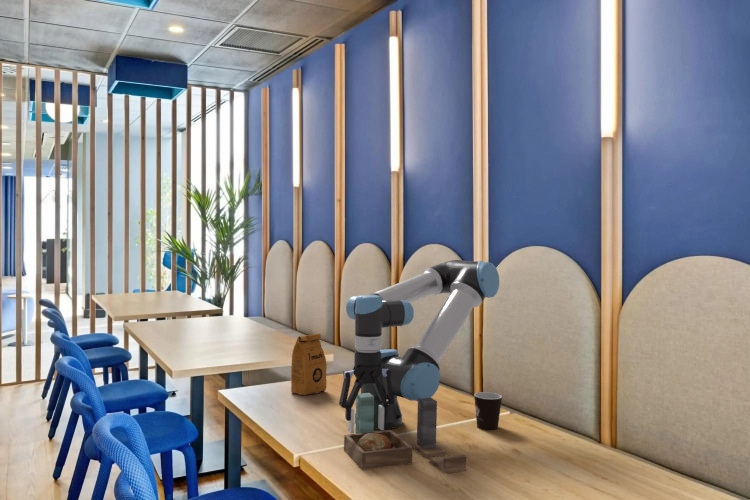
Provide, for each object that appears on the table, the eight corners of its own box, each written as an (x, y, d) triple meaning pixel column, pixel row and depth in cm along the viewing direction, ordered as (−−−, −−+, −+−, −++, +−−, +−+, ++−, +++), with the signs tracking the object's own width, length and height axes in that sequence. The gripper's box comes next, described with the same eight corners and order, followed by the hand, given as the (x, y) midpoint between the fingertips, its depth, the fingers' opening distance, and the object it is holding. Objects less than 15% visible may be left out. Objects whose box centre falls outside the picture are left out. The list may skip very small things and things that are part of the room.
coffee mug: (501, 432, 188) (502, 400, 187) (472, 430, 189) (473, 398, 189) (501, 421, 199) (502, 390, 199) (474, 419, 201) (475, 389, 200)
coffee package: (330, 392, 231) (331, 334, 230) (303, 398, 222) (304, 337, 222) (313, 387, 238) (314, 331, 238) (287, 392, 230) (288, 334, 229)
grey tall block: (413, 448, 172) (414, 398, 172) (432, 446, 174) (433, 397, 174) (425, 458, 165) (426, 406, 164) (445, 455, 167) (446, 404, 166)
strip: (429, 462, 161) (430, 449, 161) (449, 459, 164) (449, 446, 164) (445, 473, 154) (446, 459, 154) (465, 470, 157) (466, 456, 157)
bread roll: (358, 463, 169) (345, 439, 168) (390, 444, 171) (378, 419, 170) (368, 478, 160) (355, 452, 158) (401, 457, 162) (389, 431, 161)
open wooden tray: (338, 444, 174) (339, 395, 174) (384, 439, 179) (385, 391, 179) (361, 469, 156) (362, 414, 155) (412, 463, 161) (413, 410, 160)
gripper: (335, 354, 166) (334, 437, 166) (407, 351, 173) (405, 431, 173) (328, 349, 173) (326, 429, 173) (397, 346, 180) (395, 423, 180)
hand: (366, 430), depth 173 cm, fingers open, 8 cm apart
